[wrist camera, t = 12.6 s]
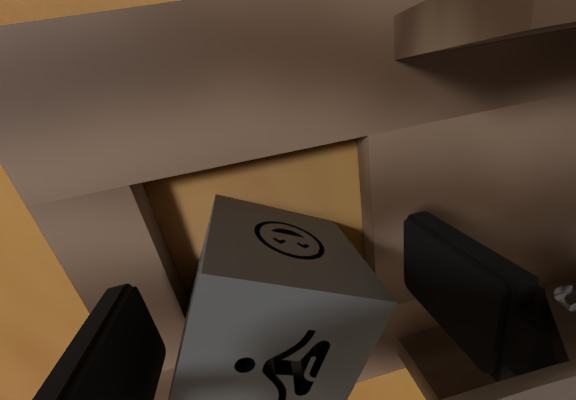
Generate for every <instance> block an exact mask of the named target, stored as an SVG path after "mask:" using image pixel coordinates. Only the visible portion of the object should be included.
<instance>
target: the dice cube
mask: <svg viewBox="0 0 576 400" xmlns="http://www.w3.org/2000/svg"><path fill="white" fill-rule="evenodd" d="M397 304H398V302H397V300H396V299H395V298H394V297H393V295H392V294H391V293H390V291H389V290H388V289H387V288H386V286H385V285H384V284H383V283H382V281H381V280H380V279H379V278H378V276H377V275H376V274H375V273H374V271H373V270H372V269H371V268H370V266H369V265H368V264H367V262H366V261H365V260H364V259H363V257H362V256H361V255H360V254H359V252H358V251H357V250H356V249H355V247H354V246H353V245H352V244H351V242H350V241H349V240H348V239H347V237H346V236H345V235H344V233H343V232H342V231H341V230H340V228H339V227H338V226H337V225H336V223H335V222H334V221H329V220H325V219H321V218H316V217H312V216H308V215H303V214H299V213H294V212H290V211H286V210H281V209H277V208H273V207H268V206H264V205H260V204H255V203H251V202H247V201H242V200H238V199H234V198H229V197H225V196H221V195H215V199H214V204H213V208H212V212H211V216H210V220H209V224H208V228H207V232H206V236H205V240H204V244H203V248H202V252H201V256H200V260H199V264H198V268H197V272H196V276H195V280H194V284H193V288H192V292H191V296H190V300H189V305H188V309H187V314H186V319H185V323H184V328H183V332H182V337H181V342H180V346H179V351H178V355H177V360H176V364H175V369H174V374H173V378H172V383H171V387H170V392H169V397H168V400H347V399H348V397H349V395H350V393H351V391H352V389H353V388H354V386H355V384H356V382H357V380H358V378H359V376H360V374H361V372H362V371H363V369H364V367H365V365H366V363H367V361H368V359H369V357H370V355H371V354H372V352H373V350H374V348H375V346H376V344H377V342H378V340H379V338H380V337H381V335H382V333H383V331H384V329H385V327H386V325H387V323H388V321H389V319H390V318H391V316H392V314H393V312H394V310H395V308H396V306H397Z"/></svg>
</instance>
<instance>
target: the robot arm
mask: <svg viewBox="0 0 576 400" xmlns="http://www.w3.org/2000/svg"><path fill="white" fill-rule="evenodd" d="M404 283H405V285H406V287H407V289H408V290H409V291H410V293H411V294H412V295H413V296H414V297H415V298H416V299H417V300H418V301H419V303H420V304H421V305H422V306H423V307H424V308H425V309H426V310H427V311H428V313H429V314H430V315H431V316H432V317H433V318H434V319H435V320H436V321H437V323H438V324H439V325H440V326H441V327H442V328H443V329H444V330H445V331H446V333H447V334H448V335H449V336H450V337H451V338H452V339H453V340H454V341H455V343H456V344H457V345H458V346H459V347H460V348H461V349H462V350H463V351H464V353H465V354H466V355H467V356H468V357H469V358H470V359H471V360H472V361H473V363H474V364H475V365H476V366H477V367H478V368H479V369H480V370H481V371H482V372H484V373H486V374H487V373H489V374H490V375H491V376H492V378H493V379H494V380H495V381H496V382H495V383H492V384H489V385H486V386H483V387H480V388H477V389H473V390H470V391H467V392H464V393H461V394H458V395H455V396H452V397H448V398H445V399H442V400H576V282H567V281H564V282H555V283H552V284H550V285H548V286H547V288H546V289H543V288H542V287H540V286H539V285H538V283H539V277H537V276H535V275H534V274H532V273H530V272H528V271H527V270H525V269H523V268H522V267H520V266H518V265H517V264H515V263H513V262H512V261H510V260H508V259H507V258H505V257H503V256H501V255H500V254H498V253H496V252H495V251H493V250H491V249H490V248H488V247H486V246H485V245H483V244H481V243H480V242H478V241H476V240H474V239H473V238H471V237H469V236H468V235H466V234H464V233H463V232H461V231H459V230H458V229H456V228H454V227H452V226H451V225H449V224H447V223H446V222H444V221H442V220H441V219H439V218H437V217H436V216H434V215H432V214H431V213H429V212H427V211H422V212H417V213H413V214H409V215H408V217H407V219H406V220H404ZM165 356H166V348H165V344H164V342H163V340H162V338H161V336H160V333H159V331H158V329H157V327H156V325H155V323H154V321H153V319H152V317H151V314H150V312H149V310H148V308H147V306H146V304H145V302H144V300H143V298H142V295H141V293H140V291H139V289H138V288H137V287H136V286H134V287H132V285H130V284H128V283H127V284H123V285H119V286H115V287H111V288H108V289H107V290H106V291H105V293H104V294H103V296H102V297H101V299H100V300H99V301H98V303H97V304H96V306H95V307H94V309H93V310H92V312H91V313H90V315H89V316H88V318H87V319H86V321H85V322H84V324H83V325H82V327H81V328H80V330H79V331H78V333H77V334H76V336H75V337H74V339H73V340H72V342H71V343H70V345H69V346H68V347H67V349H66V350H65V352H64V353H63V355H62V356H61V358H60V359H59V361H58V362H57V364H56V365H55V367H54V368H53V370H52V371H51V373H50V374H49V376H48V377H47V379H46V380H45V382H44V383H43V385H42V386H41V388H40V389H39V390H38V392H37V393H36V395H35V396H34V398H33V399H32V400H154V397H155V393H156V390H157V386H158V382H159V379H160V375H161V371H162V368H163V364H164V360H165Z"/></svg>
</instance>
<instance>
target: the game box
mask: <svg viewBox="0 0 576 400" xmlns="http://www.w3.org/2000/svg"><path fill="white" fill-rule="evenodd" d="M354 138H357V147H358V162H359V177H360V192H361V206H362V221H363V236H364V251H365V261H366V262H367V264H368V265H369V266H370V268H371V269H372V270H373V271H374V273H375V274H376V275H377V276H378V278H379V279H380V280H381V281H382V283H383V284H384V285H385V286H386V288H387V289H388V290H389V291H390V293H391V294H392V295H393V297H394V298H395V299H396V300H397V302H398V304H397V306H396V308H395V310H394V312H393V314H392V316H391V318H390V319H389V321H388V323H387V325H386V327H385V329H384V331H383V333H382V335H381V337H380V338H379V340H378V342H377V344H376V346H375V348H374V350H373V352H372V354H371V355H370V357H369V359H368V361H367V363H366V365H365V367H364V369H363V371H362V372H361V374H360V376H359V378H358V380H357V382H356V383H358V382H361V381H364V380H367V379H371V378H374V377H377V376H380V375H383V374H387V373H390V372H393V371H396V370H399V369H403V368H407V370H408V371H409V373H410V375H411V376H412V378H413V379H414V381H415V383H416V384H417V386H418V387H419V389H420V390H421V392H422V394H423V395H424V397H425V398H426V400H442V399H445V398H448V397H452V396H455V395H458V394H461V393H464V392H467V391H470V390H473V389H477V388H480V387H483V386H486V385H489V384H492V383H495V382H496V381H495V380H494V379H493V378H492V376H491V375H490V374H489V373H487V374H486V373H484V372H482V371H481V370H480V369H479V368H478V367H477V366H476V365H475V364H474V363H473V361H472V360H471V359H470V358H469V357H468V356H467V355H466V354H465V353H464V351H463V350H462V349H461V348H460V347H459V346H458V345H457V344H456V343H455V341H454V340H453V339H452V338H451V337H450V336H449V335H448V334H447V333H446V331H445V330H444V329H443V328H442V327H441V326H440V325H439V324H438V323H437V321H436V320H435V319H434V318H433V317H432V316H431V315H430V314H429V313H428V311H427V310H426V309H425V308H424V307H423V306H422V305H421V304H420V303H419V301H418V300H417V299H416V298H415V297H414V296H413V295H412V294H411V293H410V291H409V290H408V289H407V287H406V285H405V283H404V220H406V219H407V217H408V215H409V214H413V213H417V212H422V211H427V212H429V213H431V214H432V215H434V216H436V217H437V218H439V219H441V220H442V221H444V222H446V223H447V224H449V225H451V226H452V227H454V228H456V229H458V230H459V231H461V232H463V233H464V234H466V235H468V236H469V237H471V238H473V239H474V240H476V241H478V242H480V243H481V244H483V245H485V246H486V247H488V248H490V249H491V250H493V251H495V252H496V253H498V254H500V255H501V256H503V257H505V258H507V259H508V260H510V261H512V262H513V263H515V264H517V265H518V266H520V267H522V268H523V269H525V270H527V271H528V272H530V273H532V274H534V275H535V276H537V277H539V283H538V285H539V286H540V287H542V288H543V289H546V288H547V286H548V285H550V284H552V283H555V282H564V281H567V282H576V0H182V1H175V2H168V3H160V4H153V5H146V6H139V7H132V8H125V9H118V10H110V11H103V12H96V13H89V14H82V15H75V16H68V17H60V18H53V19H46V20H39V21H32V22H25V23H18V24H10V25H3V26H0V163H1V165H2V167H3V168H4V170H5V172H6V173H7V175H8V177H9V178H10V180H11V182H12V183H13V185H14V187H15V189H16V190H17V192H18V194H19V195H20V197H21V199H22V200H23V202H24V204H25V205H26V207H27V209H28V210H29V212H30V214H31V215H32V217H33V219H34V221H35V222H36V224H37V226H38V227H39V229H40V231H41V232H42V234H43V236H44V237H45V239H46V241H47V242H48V244H49V246H50V247H51V249H52V251H53V253H54V254H55V256H56V258H57V259H58V261H59V263H60V264H61V266H62V268H63V269H64V271H65V273H66V274H67V276H68V278H69V279H70V281H71V283H72V285H73V286H74V288H75V290H76V291H77V293H78V295H79V296H80V298H81V300H82V301H83V303H84V305H85V306H86V308H87V310H88V311H89V313H91V312H92V310H93V309H94V307H95V306H96V304H97V303H98V301H99V300H100V299H101V297H102V296H103V294H104V293H105V291H106V290H107V289H108V288H111V287H115V286H119V285H123V284H127V283H128V284H130V285H132V287H134V286H136V287H137V288H138V289H139V291H140V293H141V295H142V298H143V300H144V302H145V304H146V306H147V308H148V310H149V312H150V314H151V317H152V319H153V321H154V323H155V325H156V327H157V329H158V331H159V333H160V336H161V338H162V340H163V342H164V344H165V348H166V356H165V360H164V364H163V368H162V371H161V375H160V379H159V382H158V386H157V390H156V393H155V397H154V400H168V397H169V392H170V387H171V383H172V378H173V374H174V369H175V364H176V360H177V355H178V351H179V346H180V342H181V337H182V332H183V328H184V323H185V319H186V314H187V309H188V305H189V300H188V298H187V295H186V293H185V290H184V288H183V285H182V283H181V280H180V278H179V275H178V273H177V270H176V268H175V265H174V262H173V260H172V257H171V255H170V252H169V250H168V247H167V245H166V242H165V240H164V237H163V235H162V232H161V230H160V227H159V225H158V222H157V220H156V217H155V215H154V212H153V210H152V207H151V205H150V202H149V200H148V197H147V195H146V192H145V190H144V187H143V185H142V182H147V181H152V180H157V179H162V178H167V177H171V176H176V175H181V174H186V173H191V172H195V171H200V170H205V169H210V168H215V167H219V166H224V165H229V164H234V163H239V162H243V161H248V160H253V159H258V158H263V157H267V156H272V155H277V154H282V153H287V152H291V151H296V150H301V149H306V148H311V147H315V146H320V145H325V144H330V143H335V142H339V141H344V140H349V139H354Z"/></svg>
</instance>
